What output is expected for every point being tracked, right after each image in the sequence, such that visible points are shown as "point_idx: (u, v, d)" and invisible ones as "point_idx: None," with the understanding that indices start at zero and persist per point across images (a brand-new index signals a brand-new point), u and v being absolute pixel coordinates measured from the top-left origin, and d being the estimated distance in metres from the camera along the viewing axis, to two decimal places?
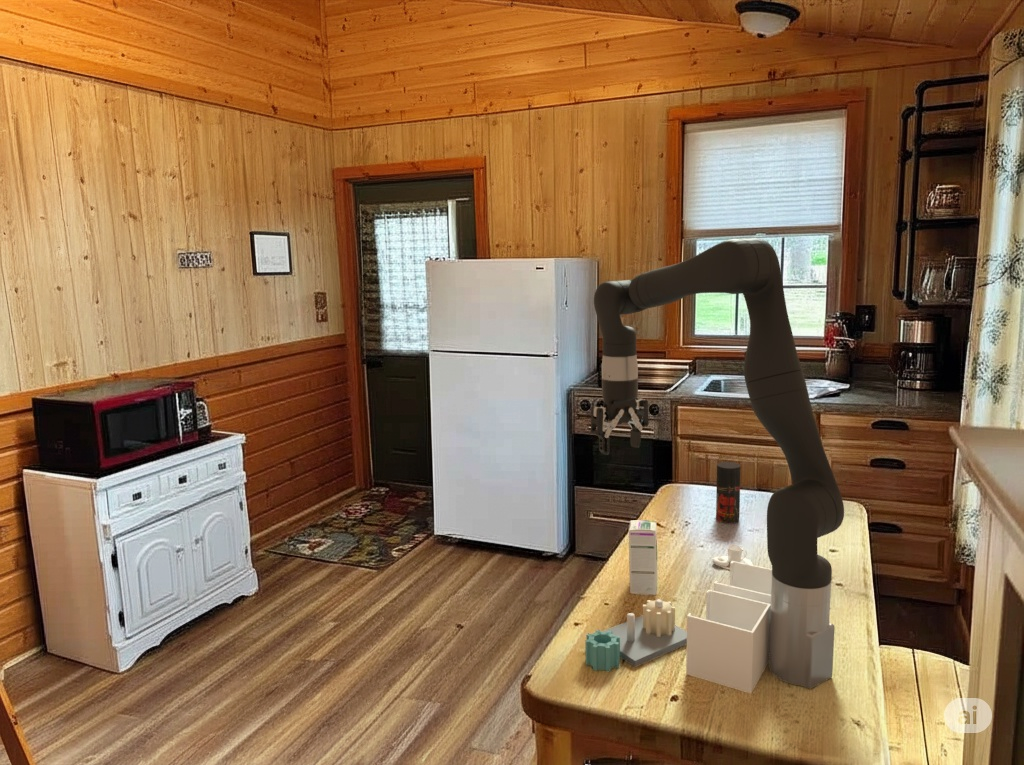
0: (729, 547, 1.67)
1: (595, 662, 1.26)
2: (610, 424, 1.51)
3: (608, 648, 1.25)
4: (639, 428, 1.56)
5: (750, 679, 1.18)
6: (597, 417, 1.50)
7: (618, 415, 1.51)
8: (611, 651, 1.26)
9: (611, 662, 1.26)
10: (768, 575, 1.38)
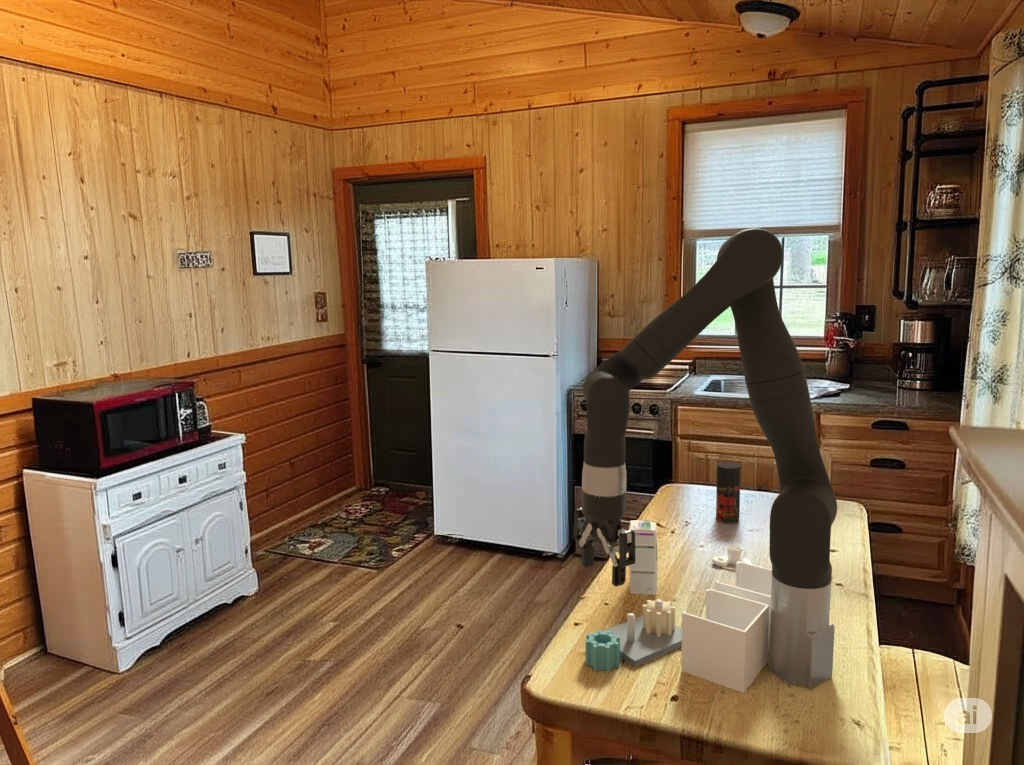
0: (729, 547, 1.67)
1: (595, 662, 1.26)
2: None
3: (608, 648, 1.25)
4: None
5: (742, 678, 1.18)
6: (633, 542, 1.20)
7: None
8: (611, 651, 1.26)
9: (611, 662, 1.26)
10: None
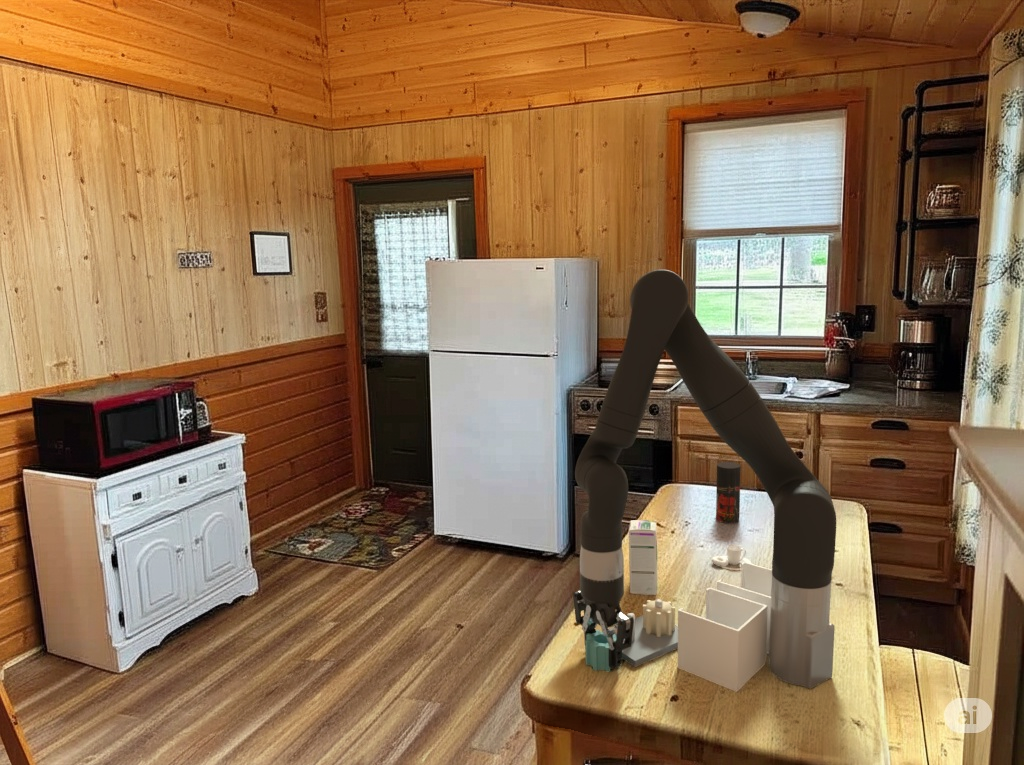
0: (728, 547, 1.67)
1: (595, 662, 1.26)
2: None
3: (608, 648, 1.25)
4: None
5: (736, 677, 1.18)
6: (631, 628, 1.22)
7: None
8: None
9: None
10: None
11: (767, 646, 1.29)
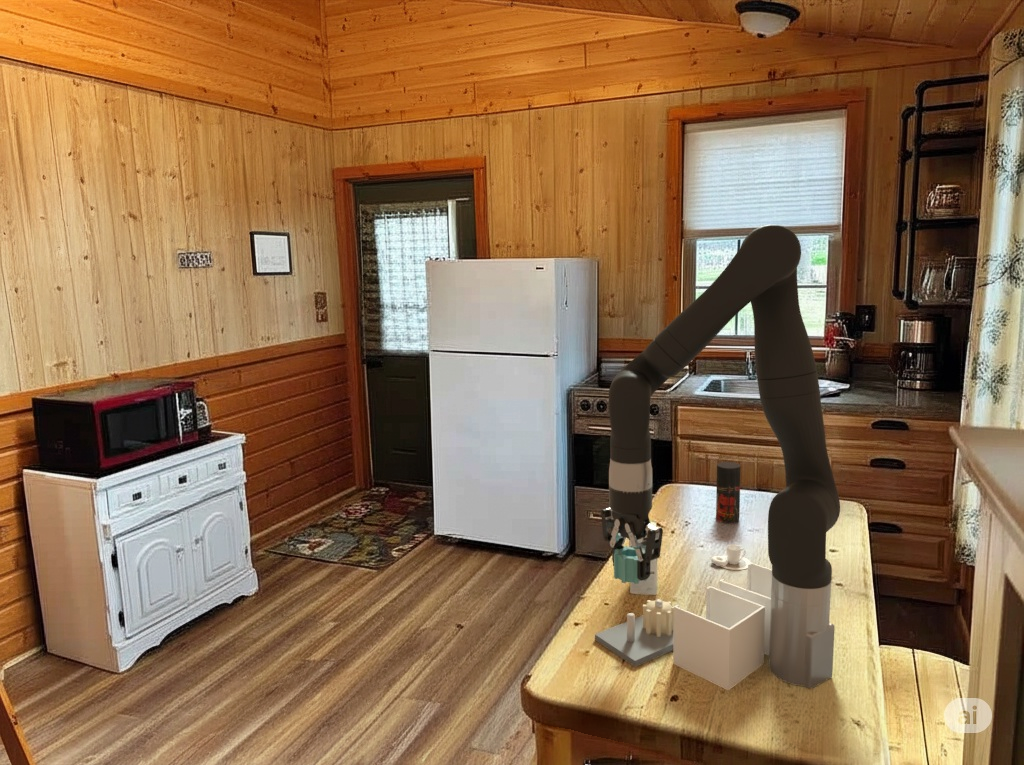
0: (728, 546, 1.67)
1: (624, 574, 1.28)
2: None
3: None
4: None
5: (727, 676, 1.19)
6: (660, 539, 1.24)
7: None
8: None
9: None
10: None
11: (767, 647, 1.29)
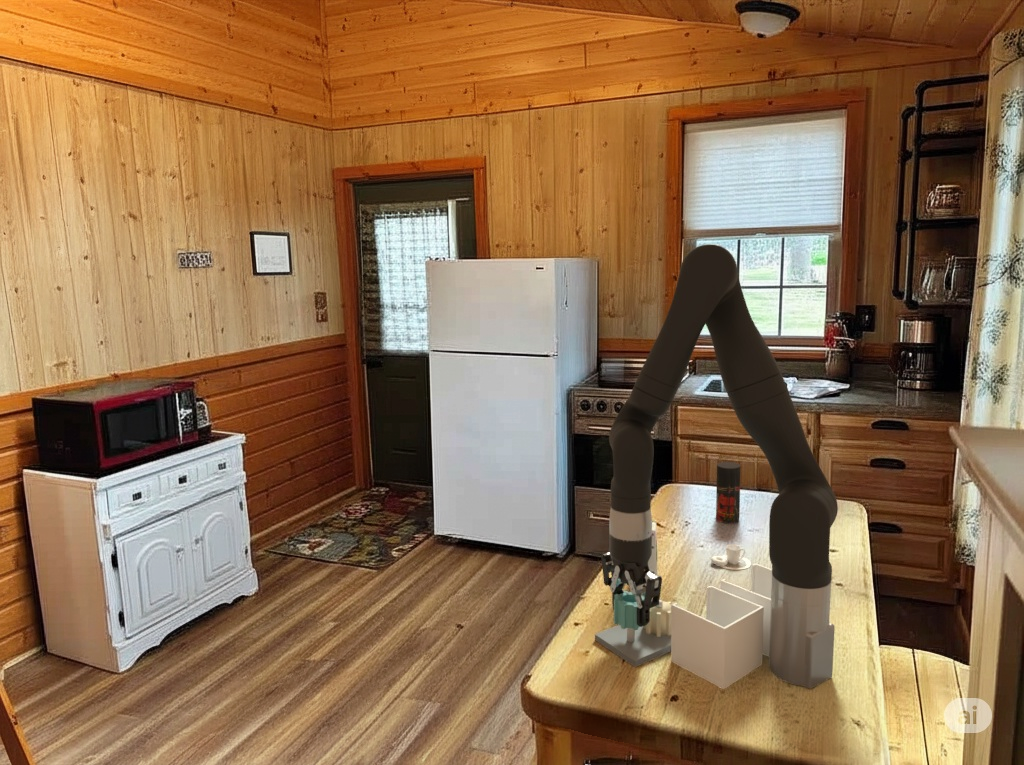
0: (728, 546, 1.67)
1: (623, 620, 1.30)
2: None
3: (636, 607, 1.29)
4: None
5: (722, 674, 1.19)
6: (659, 587, 1.26)
7: None
8: None
9: None
10: None
11: (766, 648, 1.28)
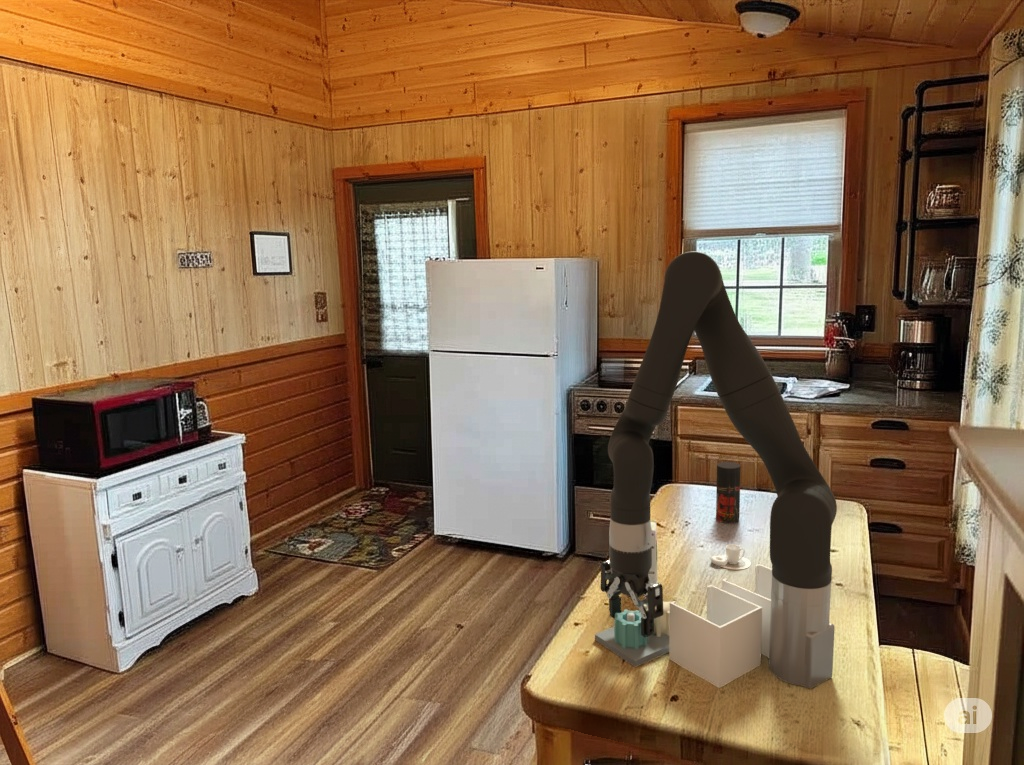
0: (727, 546, 1.67)
1: (624, 640, 1.30)
2: None
3: (637, 626, 1.29)
4: None
5: (718, 673, 1.19)
6: (661, 595, 1.26)
7: None
8: (639, 629, 1.30)
9: (639, 640, 1.31)
10: None
11: (766, 649, 1.28)
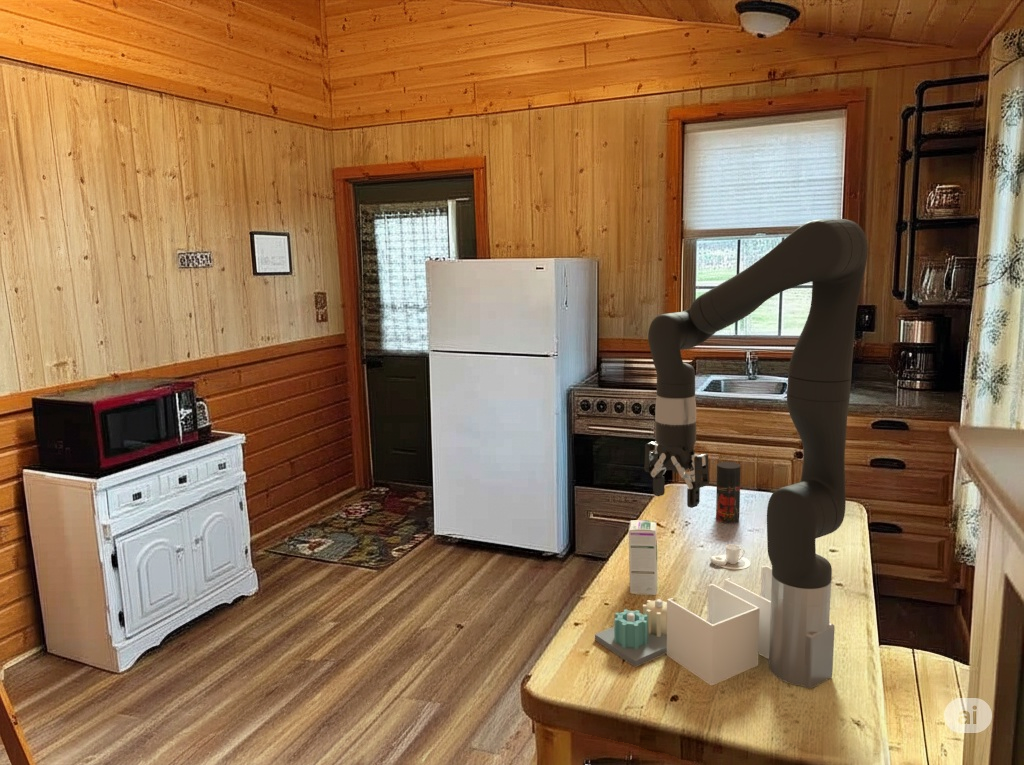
0: (727, 546, 1.67)
1: (624, 640, 1.30)
2: None
3: (637, 626, 1.29)
4: None
5: (710, 671, 1.20)
6: (707, 465, 1.33)
7: None
8: (639, 629, 1.30)
9: (639, 640, 1.31)
10: None
11: (765, 650, 1.28)
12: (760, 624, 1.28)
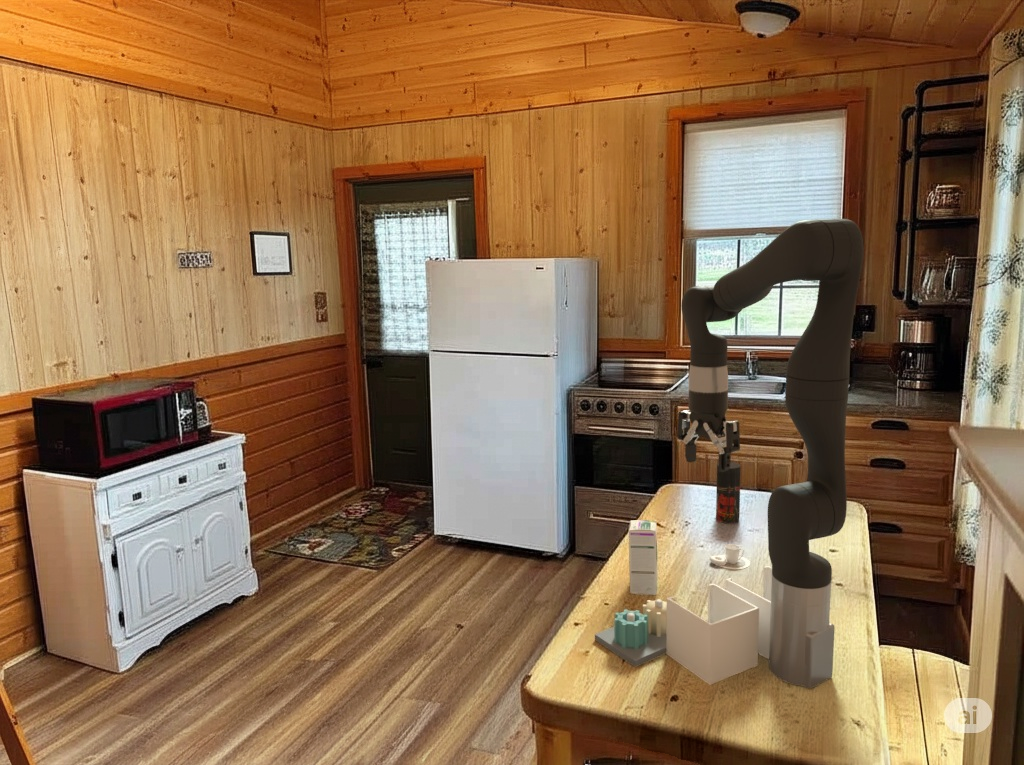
0: (727, 546, 1.67)
1: (624, 640, 1.30)
2: None
3: (637, 626, 1.29)
4: None
5: (709, 670, 1.20)
6: (738, 431, 1.39)
7: None
8: (639, 629, 1.30)
9: (639, 640, 1.31)
10: None
11: (765, 650, 1.28)
12: (760, 624, 1.28)
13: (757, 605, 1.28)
